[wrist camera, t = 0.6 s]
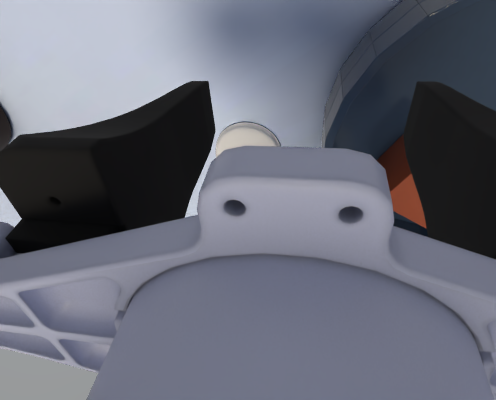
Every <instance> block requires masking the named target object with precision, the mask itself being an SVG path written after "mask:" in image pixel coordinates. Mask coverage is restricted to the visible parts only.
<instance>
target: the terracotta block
mask: <svg viewBox="0 0 496 400" xmlns="http://www.w3.org/2000/svg"><path fill="white" fill-rule="evenodd" d="M377 162H378V163H379V164H380V165H382V166H383V167H384V168H385V170H386V175H387V180H388V185H389V189H390V194H391V199H392V204H393V211H395V212H396V213H398V214H400V215H402V216H404V217H406V218H408V219H409V220H411V221H413V222H415V223H417V224H419V225H421V226H422V227H424V228H426V222H425V217H424V212H423V208H422V204H421V201H420V198H419V195H418V192H417V189H416V186H415V183H414V180H413V177H412V174H411V171H410V168H409V165H408V161H407V158H406V153H405V146H404V137H403V135H402V136H401V137H400V138H399V139H398V140H397V141H396V142H395V143H394V144H393V145H392V146H391V147H390V148H389V149H388V150H387V151H386V152H385V153H384V154H383V155H382V156H381V157H380V158H379V159H378V160H377ZM426 229H427V228H426Z"/></svg>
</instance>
